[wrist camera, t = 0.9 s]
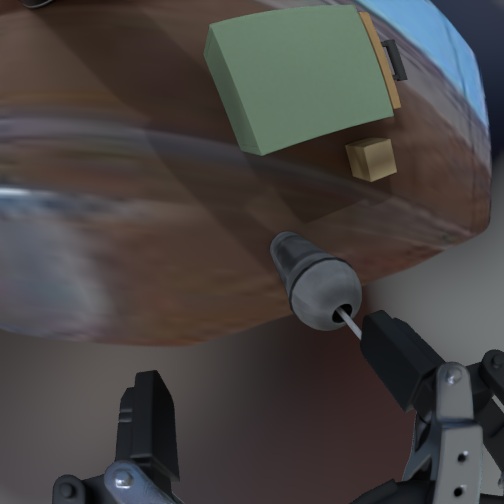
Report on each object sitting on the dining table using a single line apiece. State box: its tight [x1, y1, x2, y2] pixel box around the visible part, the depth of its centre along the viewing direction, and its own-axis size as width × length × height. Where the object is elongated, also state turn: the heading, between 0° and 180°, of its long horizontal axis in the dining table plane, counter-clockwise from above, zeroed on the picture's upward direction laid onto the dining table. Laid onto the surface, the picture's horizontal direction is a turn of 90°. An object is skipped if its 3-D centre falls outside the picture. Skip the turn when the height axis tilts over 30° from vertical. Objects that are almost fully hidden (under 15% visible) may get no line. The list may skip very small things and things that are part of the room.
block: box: [345, 137, 397, 182], centre depth 32 cm, size 4×4×4 cm
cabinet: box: [203, 5, 394, 156], centre depth 24 cm, size 15×13×10 cm
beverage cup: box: [270, 231, 362, 340], centre depth 28 cm, size 7×7×20 cm
